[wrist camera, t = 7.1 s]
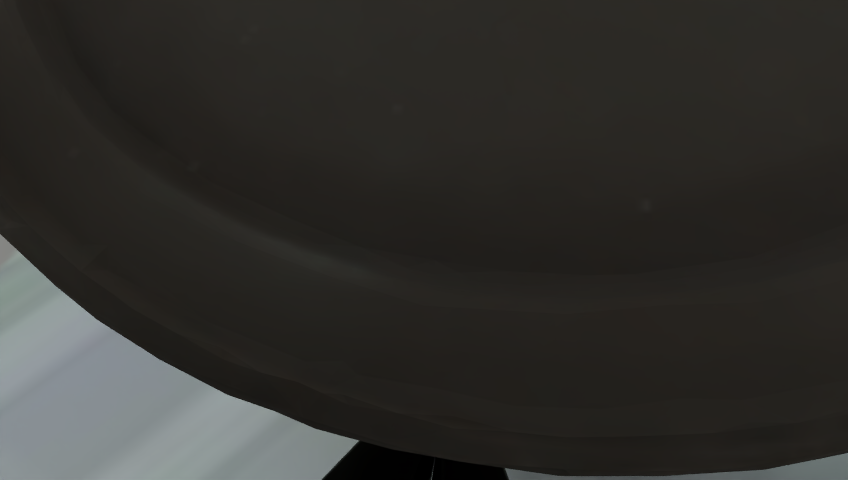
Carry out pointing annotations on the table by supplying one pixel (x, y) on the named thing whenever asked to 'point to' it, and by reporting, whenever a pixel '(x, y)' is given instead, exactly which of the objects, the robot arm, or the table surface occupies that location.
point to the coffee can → (457, 215)
